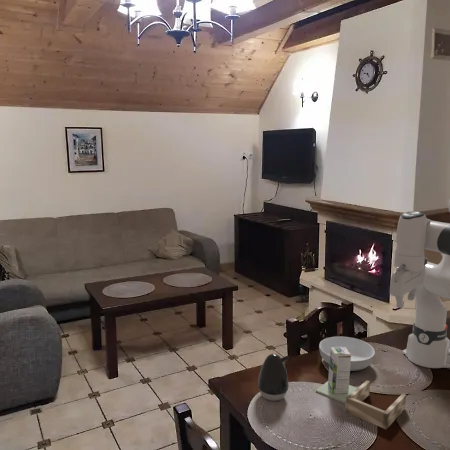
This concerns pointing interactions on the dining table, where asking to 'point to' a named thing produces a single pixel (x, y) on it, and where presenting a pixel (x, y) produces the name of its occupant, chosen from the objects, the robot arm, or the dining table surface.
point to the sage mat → (339, 397)
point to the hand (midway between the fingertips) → (405, 303)
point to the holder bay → (371, 412)
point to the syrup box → (339, 370)
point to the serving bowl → (358, 349)
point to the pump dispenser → (273, 378)
